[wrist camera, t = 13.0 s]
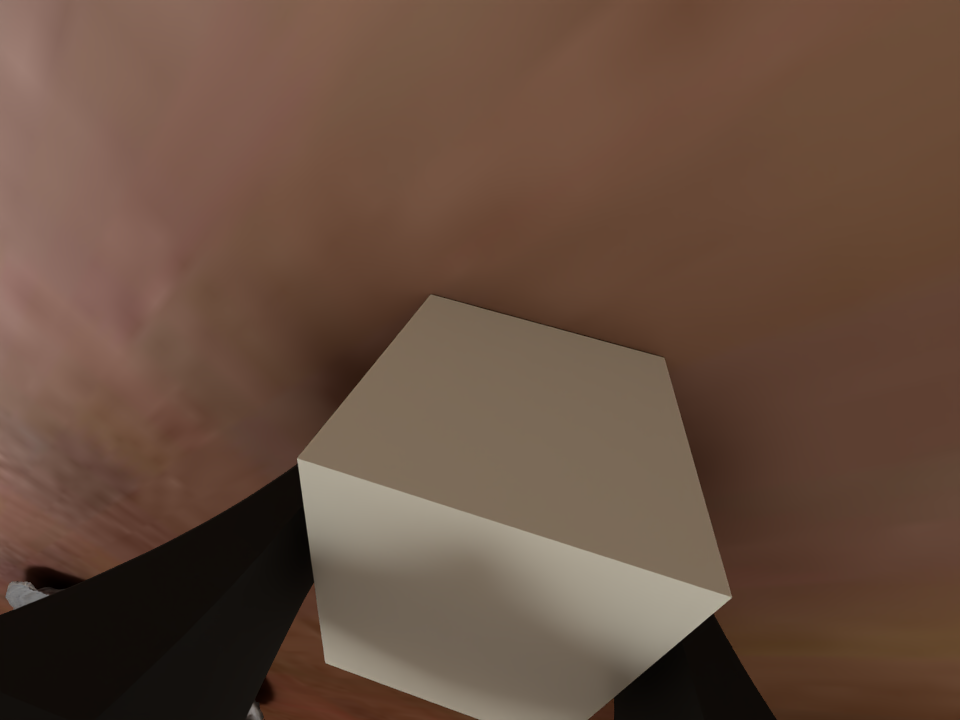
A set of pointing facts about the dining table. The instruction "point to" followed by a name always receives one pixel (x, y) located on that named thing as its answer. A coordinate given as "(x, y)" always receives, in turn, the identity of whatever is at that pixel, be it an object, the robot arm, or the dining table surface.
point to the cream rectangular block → (507, 518)
